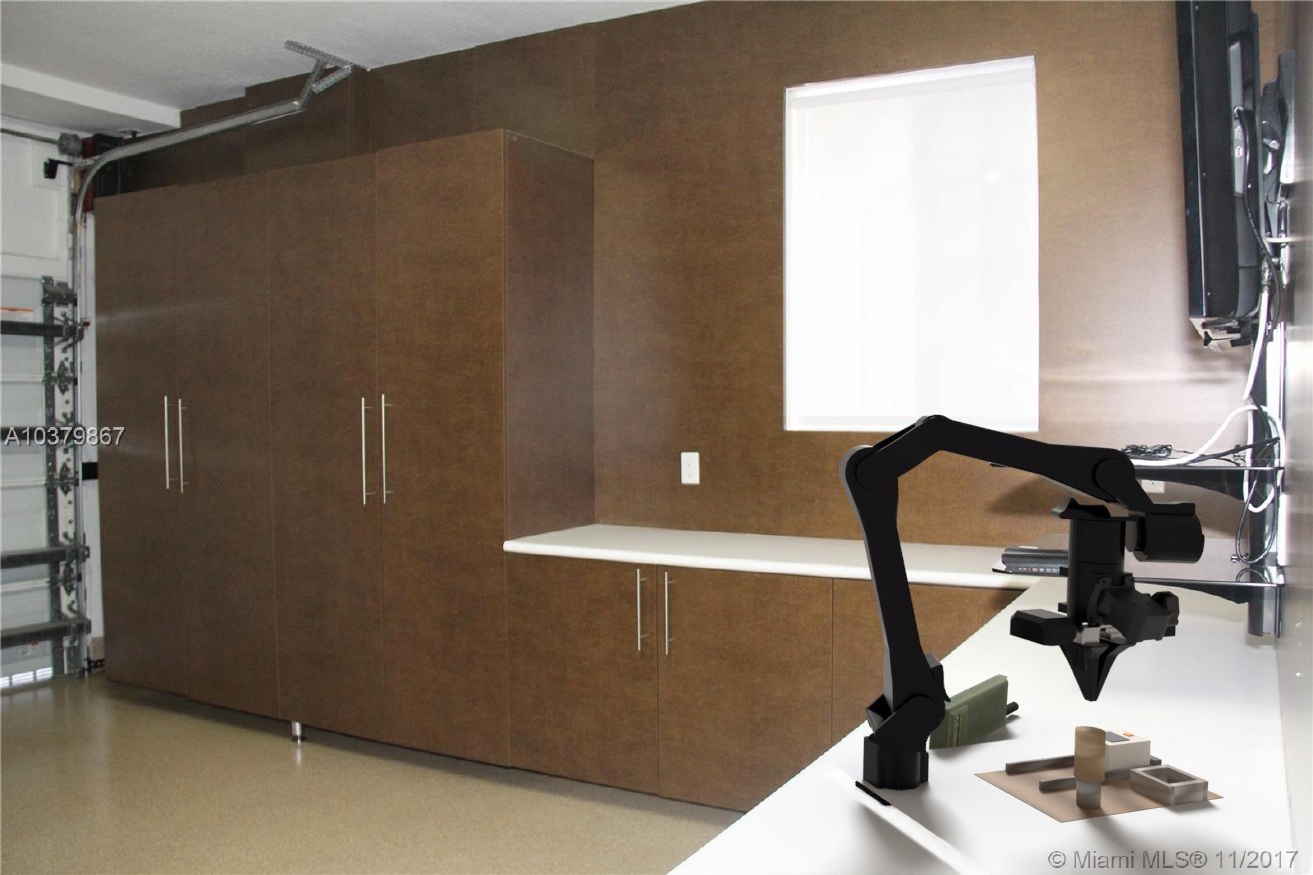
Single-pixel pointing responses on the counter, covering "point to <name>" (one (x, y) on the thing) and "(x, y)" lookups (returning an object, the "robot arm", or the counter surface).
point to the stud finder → (1125, 750)
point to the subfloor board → (1121, 790)
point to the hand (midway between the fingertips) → (1090, 700)
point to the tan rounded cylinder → (1089, 765)
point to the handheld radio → (974, 714)
